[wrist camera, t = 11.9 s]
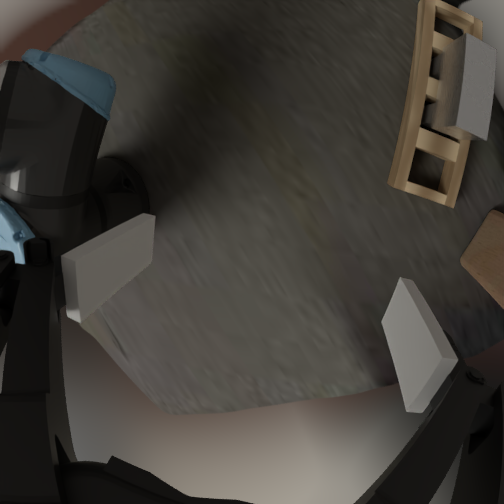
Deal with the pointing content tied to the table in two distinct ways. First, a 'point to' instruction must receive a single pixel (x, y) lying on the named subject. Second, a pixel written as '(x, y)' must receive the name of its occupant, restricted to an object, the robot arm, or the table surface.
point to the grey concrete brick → (462, 89)
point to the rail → (426, 90)
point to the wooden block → (488, 255)
